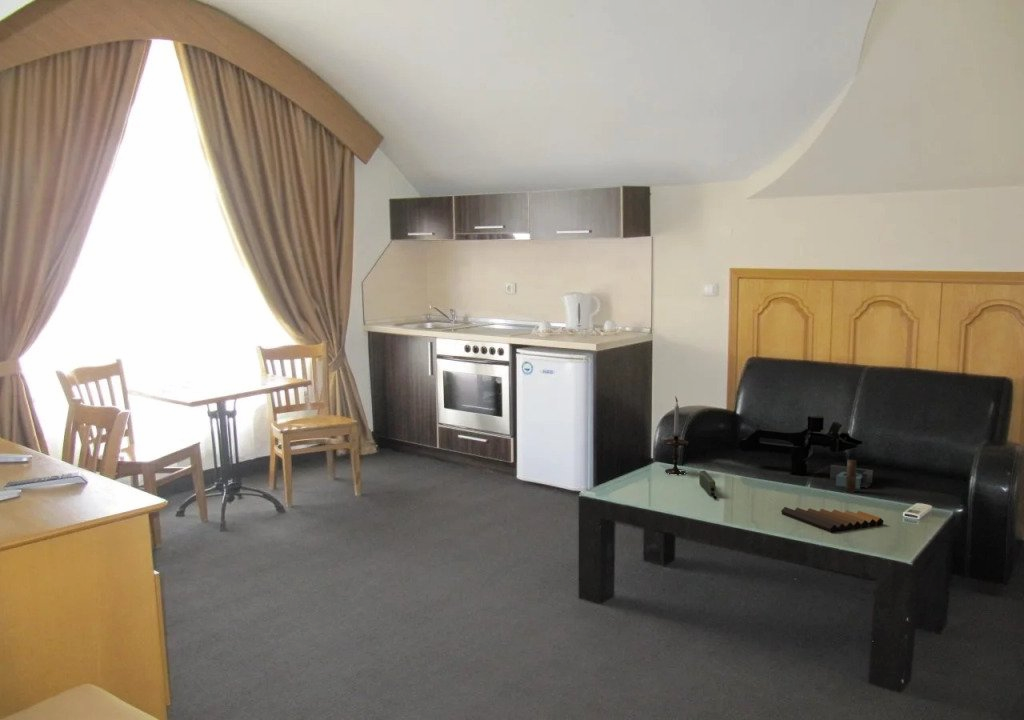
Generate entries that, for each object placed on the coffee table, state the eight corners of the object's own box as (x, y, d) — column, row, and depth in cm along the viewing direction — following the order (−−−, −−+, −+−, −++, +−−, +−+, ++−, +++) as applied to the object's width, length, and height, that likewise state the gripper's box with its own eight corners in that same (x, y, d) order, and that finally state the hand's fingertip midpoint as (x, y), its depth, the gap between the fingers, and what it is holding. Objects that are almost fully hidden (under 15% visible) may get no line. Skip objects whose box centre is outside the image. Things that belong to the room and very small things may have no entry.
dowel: (844, 491, 358) (846, 460, 357) (847, 489, 361) (848, 459, 360) (854, 493, 356) (855, 461, 355) (856, 491, 359) (857, 460, 358)
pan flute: (780, 516, 324) (830, 534, 301) (781, 507, 324) (830, 525, 301) (832, 509, 334) (883, 526, 311) (832, 500, 334) (883, 517, 311)
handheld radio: (706, 485, 369) (719, 500, 344) (699, 485, 369) (711, 501, 344) (706, 470, 368) (719, 484, 343) (698, 470, 368) (711, 484, 343)
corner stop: (825, 482, 374) (825, 468, 373) (831, 478, 382) (831, 464, 381) (866, 488, 364) (867, 474, 363) (872, 483, 372) (872, 470, 371)
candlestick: (659, 473, 389) (660, 396, 386) (669, 469, 398) (670, 393, 395) (681, 476, 383) (683, 398, 380) (691, 472, 392) (693, 395, 389)
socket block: (835, 486, 369) (836, 475, 368) (842, 481, 377) (842, 471, 376) (859, 489, 363) (859, 478, 363) (865, 484, 371) (865, 474, 371)
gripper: (817, 425, 374) (855, 428, 365) (829, 419, 389) (866, 422, 380) (816, 450, 375) (853, 455, 366) (828, 443, 390) (864, 447, 381)
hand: (859, 444), depth 373 cm, fingers open, 9 cm apart
